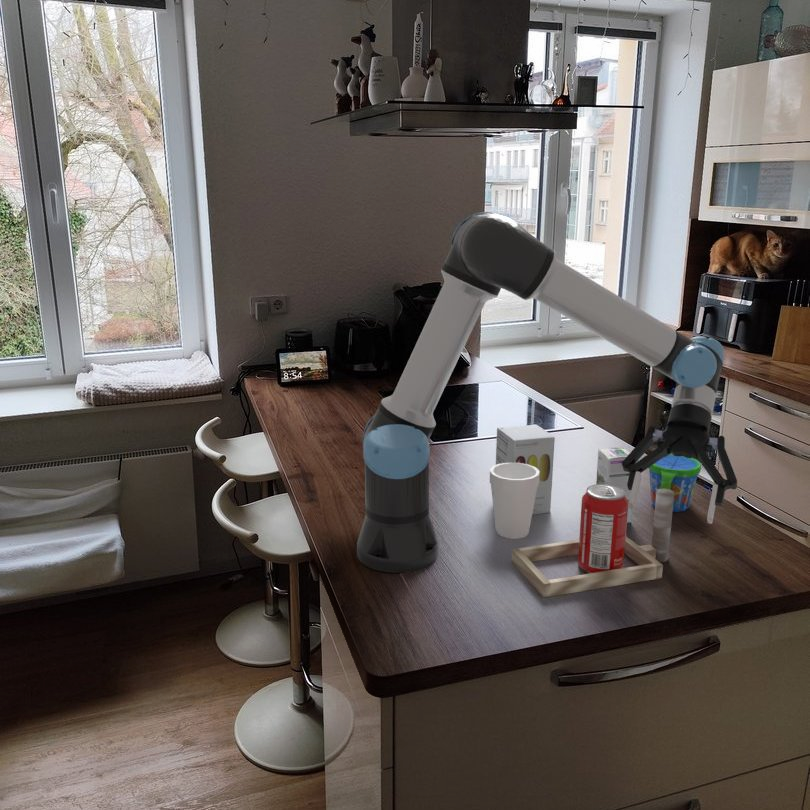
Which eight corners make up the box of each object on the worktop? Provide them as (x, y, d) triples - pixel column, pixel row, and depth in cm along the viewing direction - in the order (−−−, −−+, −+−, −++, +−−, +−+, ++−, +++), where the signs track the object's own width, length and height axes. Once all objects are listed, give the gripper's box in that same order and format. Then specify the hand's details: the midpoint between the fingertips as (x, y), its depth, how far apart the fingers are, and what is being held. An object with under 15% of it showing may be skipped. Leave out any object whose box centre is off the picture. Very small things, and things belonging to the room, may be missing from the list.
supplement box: (509, 518, 158) (512, 440, 153) (492, 501, 167) (494, 426, 162) (552, 512, 160) (556, 436, 156) (533, 496, 169) (536, 422, 164)
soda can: (589, 582, 133) (595, 501, 128) (570, 561, 140) (574, 484, 136) (631, 576, 134) (637, 497, 130) (609, 556, 142) (615, 480, 138)
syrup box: (631, 523, 155) (637, 456, 151) (603, 526, 154) (608, 457, 150) (619, 512, 160) (625, 446, 156) (592, 514, 160) (597, 448, 155)
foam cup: (503, 547, 146) (505, 483, 142) (479, 527, 154) (481, 466, 150) (546, 537, 149) (549, 475, 146) (520, 519, 157) (522, 459, 154)
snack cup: (657, 489, 172) (661, 446, 169) (705, 499, 166) (710, 455, 163) (632, 513, 160) (636, 467, 157) (684, 525, 154) (689, 478, 151)
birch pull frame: (543, 597, 127) (547, 525, 124) (511, 561, 139) (514, 495, 136) (688, 573, 135) (695, 505, 131) (646, 541, 147) (651, 477, 143)
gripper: (762, 430, 144) (744, 535, 136) (627, 412, 156) (603, 508, 148) (763, 410, 138) (744, 518, 130) (623, 394, 150) (597, 492, 142)
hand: (669, 513), depth 139 cm, fingers open, 13 cm apart
